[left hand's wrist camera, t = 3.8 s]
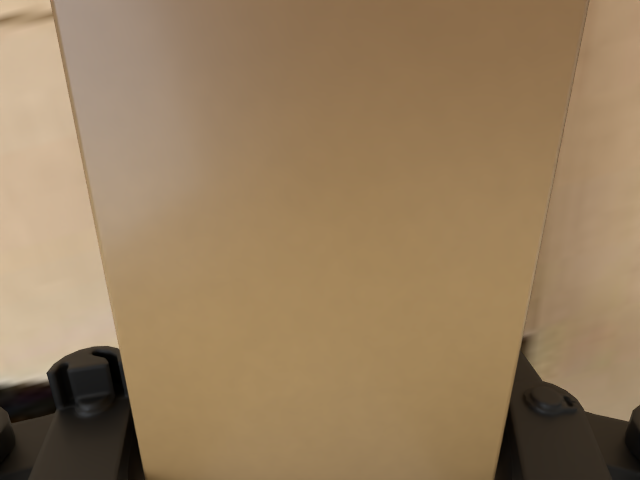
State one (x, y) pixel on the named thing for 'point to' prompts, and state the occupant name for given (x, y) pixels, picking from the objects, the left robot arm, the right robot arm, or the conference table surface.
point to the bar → (319, 222)
